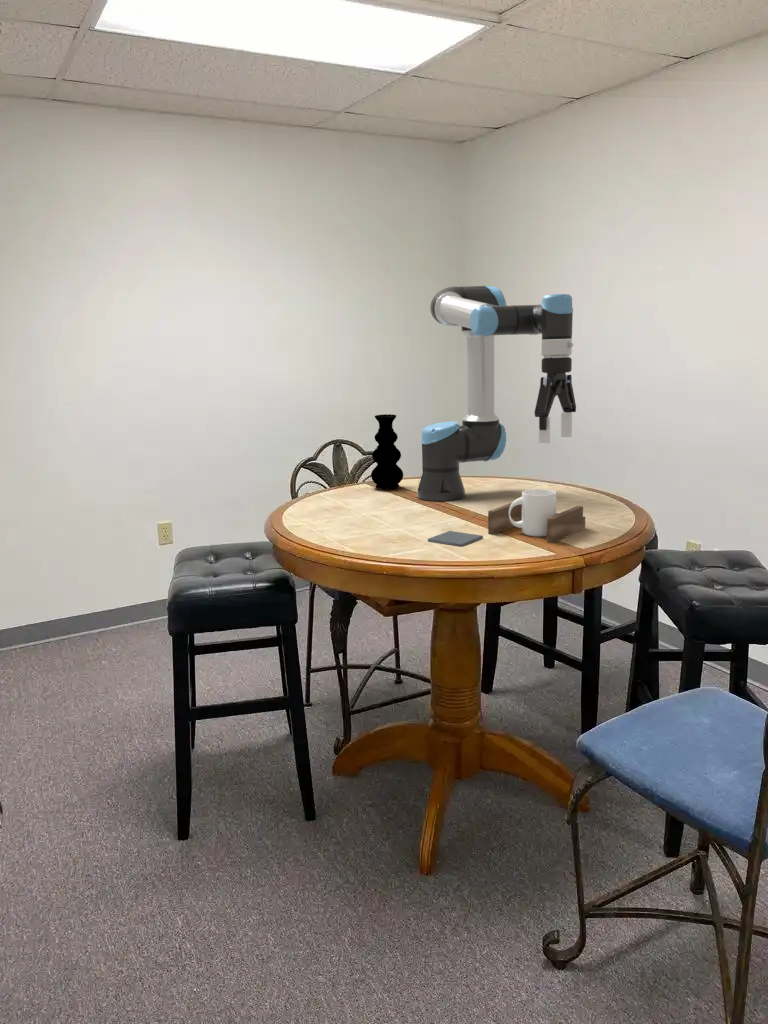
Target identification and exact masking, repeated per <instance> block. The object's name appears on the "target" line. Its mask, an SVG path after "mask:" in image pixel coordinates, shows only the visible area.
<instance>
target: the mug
mask: <svg viewBox="0 0 768 1024" xmlns="http://www.w3.org/2000/svg"><path fill="white" fill-rule="evenodd" d="M512 502H513V503H512ZM512 502H511V503H512V504H511V505H510V508H509V519H510V522H511V523H512V524H513V525H514V527H516V528H518V529H519V528H520V529H521V532H522V533H523V534H524V535H526V536H528V537H529V536H530V537H537V538H538V537H539V538H540V537H547V518H549V517H552V516H554V515H556V513H557V491H556V490H552V489H546V488H531V489H525V490H523V491H522V492H521V496H520V497H518V498H517V499H515V500H513V501H512ZM519 504H522V520H521V521H519V522H515V521H513V520H512V518H511V516H510V512H511V510H512V508H513V507H514V506H516V505H519Z"/></svg>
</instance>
